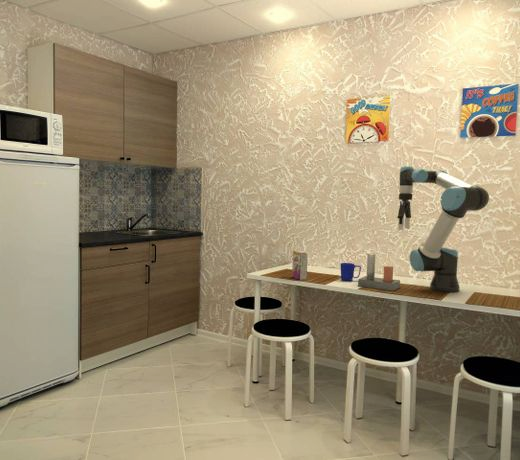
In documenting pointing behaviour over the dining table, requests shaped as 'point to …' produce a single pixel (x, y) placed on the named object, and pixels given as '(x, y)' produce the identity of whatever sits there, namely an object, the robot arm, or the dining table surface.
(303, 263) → the candy bar box
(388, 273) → the orange rectangular block
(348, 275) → the mug
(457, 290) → the robot arm
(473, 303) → the dining table surface
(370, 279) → the gray socket post base
